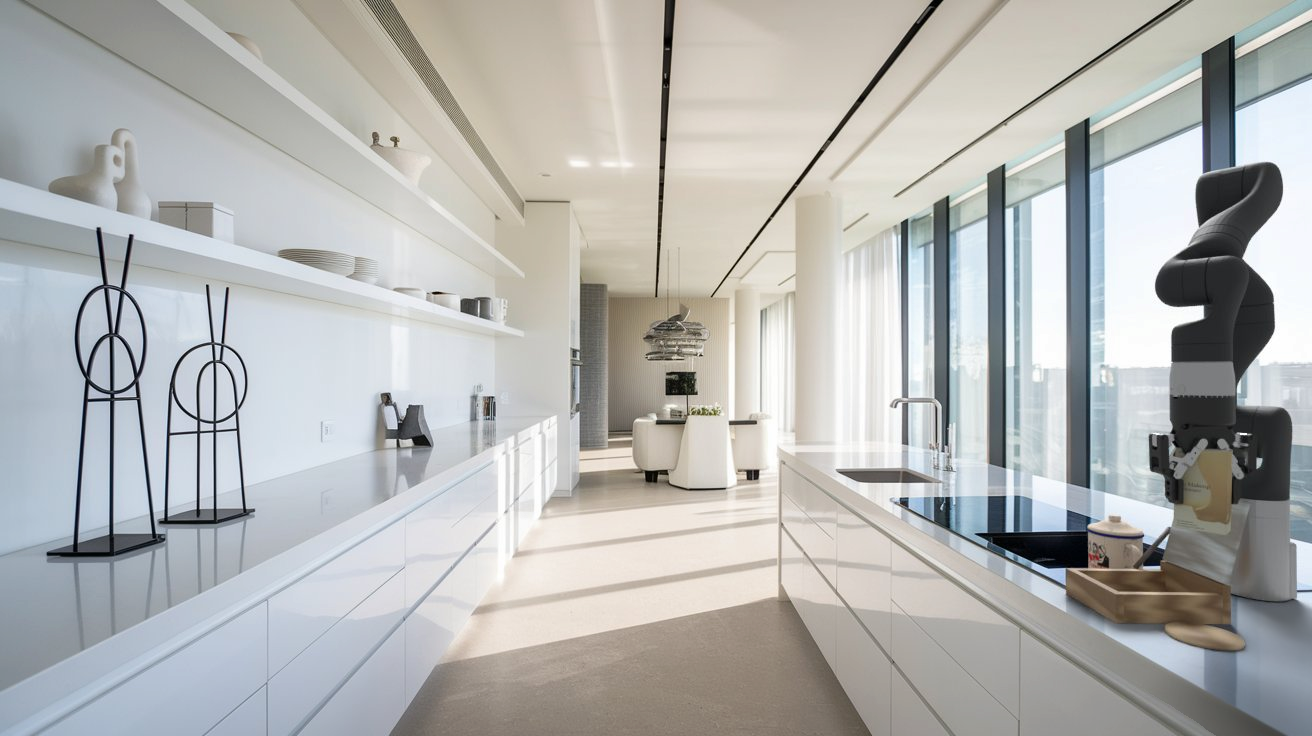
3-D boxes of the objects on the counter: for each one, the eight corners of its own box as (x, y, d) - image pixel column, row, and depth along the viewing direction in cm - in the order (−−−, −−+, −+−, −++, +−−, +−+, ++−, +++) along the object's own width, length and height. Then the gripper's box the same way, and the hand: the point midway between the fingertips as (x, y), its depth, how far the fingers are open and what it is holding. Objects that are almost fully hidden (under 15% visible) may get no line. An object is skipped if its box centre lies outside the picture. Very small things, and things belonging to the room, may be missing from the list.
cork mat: (1210, 626, 101) (1210, 622, 101) (1262, 651, 92) (1261, 646, 92) (1150, 625, 101) (1150, 621, 101) (1195, 650, 92) (1195, 645, 92)
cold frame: (1182, 593, 115) (1181, 486, 115) (1252, 624, 101) (1251, 503, 101) (1063, 591, 116) (1062, 486, 116) (1115, 622, 102) (1114, 502, 102)
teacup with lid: (1077, 567, 130) (1077, 509, 130) (1126, 569, 129) (1125, 510, 129) (1112, 587, 118) (1112, 523, 119) (1166, 589, 117) (1165, 524, 117)
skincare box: (1172, 528, 97) (1172, 446, 97) (1178, 523, 100) (1177, 444, 100) (1229, 536, 93) (1228, 450, 93) (1233, 531, 95) (1233, 447, 95)
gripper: (1230, 391, 100) (1231, 498, 100) (1134, 392, 101) (1135, 498, 100) (1274, 393, 92) (1275, 509, 92) (1170, 393, 93) (1171, 508, 93)
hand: (1202, 503), depth 96 cm, fingers closed on skincare box, 7 cm apart
